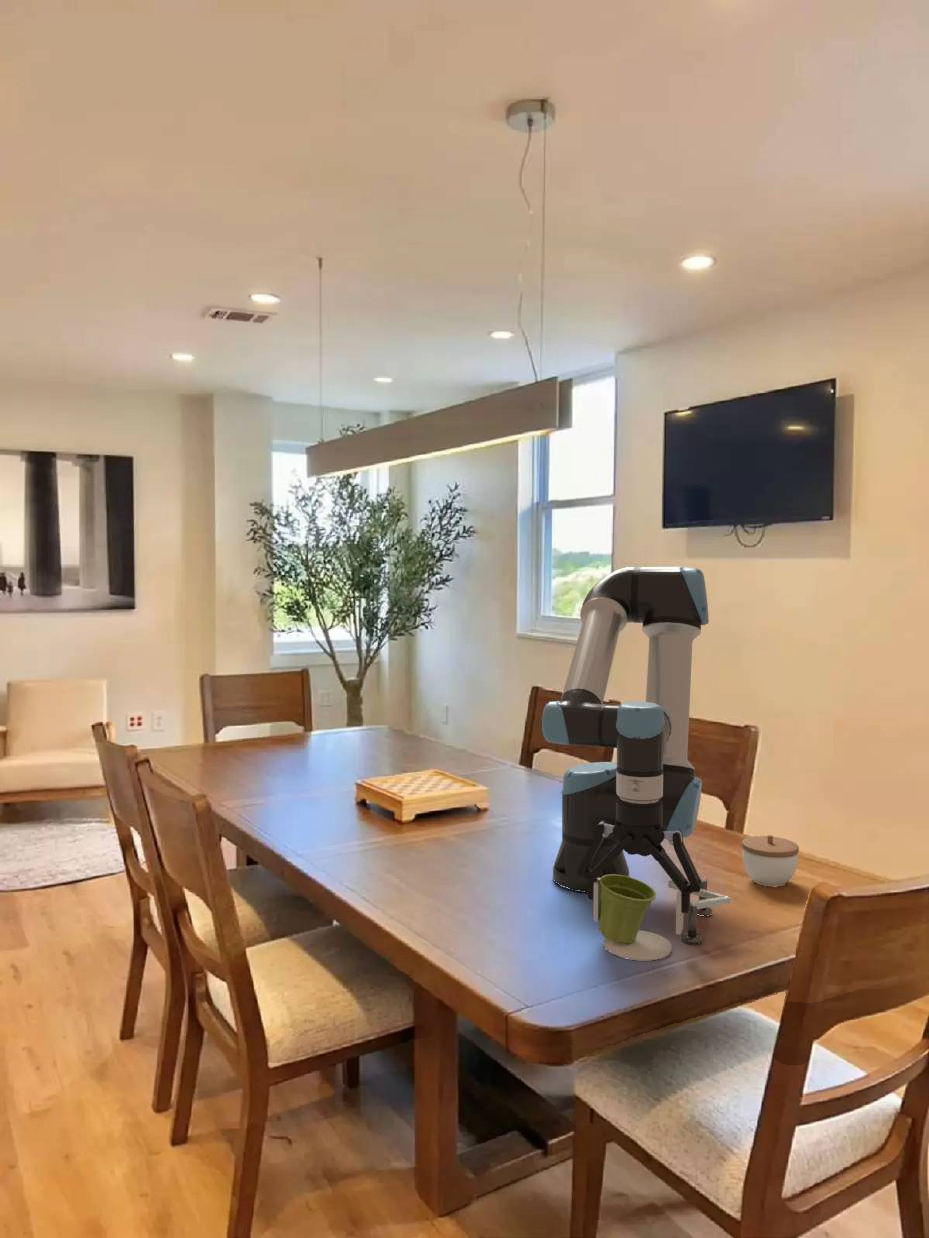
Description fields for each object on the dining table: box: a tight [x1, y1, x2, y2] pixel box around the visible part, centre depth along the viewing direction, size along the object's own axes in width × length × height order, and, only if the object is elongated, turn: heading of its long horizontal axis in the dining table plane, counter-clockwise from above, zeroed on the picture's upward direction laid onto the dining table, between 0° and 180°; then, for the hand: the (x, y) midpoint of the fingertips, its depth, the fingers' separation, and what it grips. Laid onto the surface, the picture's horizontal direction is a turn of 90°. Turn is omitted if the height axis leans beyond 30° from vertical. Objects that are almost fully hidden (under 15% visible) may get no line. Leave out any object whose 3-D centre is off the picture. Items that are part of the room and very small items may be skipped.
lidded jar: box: [741, 834, 800, 887], centre depth 181 cm, size 11×11×9 cm
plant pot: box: [598, 874, 657, 944], centre depth 151 cm, size 9×9×9 cm
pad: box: [603, 929, 672, 962], centre depth 150 cm, size 11×11×1 cm
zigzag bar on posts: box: [667, 876, 732, 945], centre depth 158 cm, size 11×16×7 cm
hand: (637, 924), depth 150 cm, fingers open, 13 cm apart
